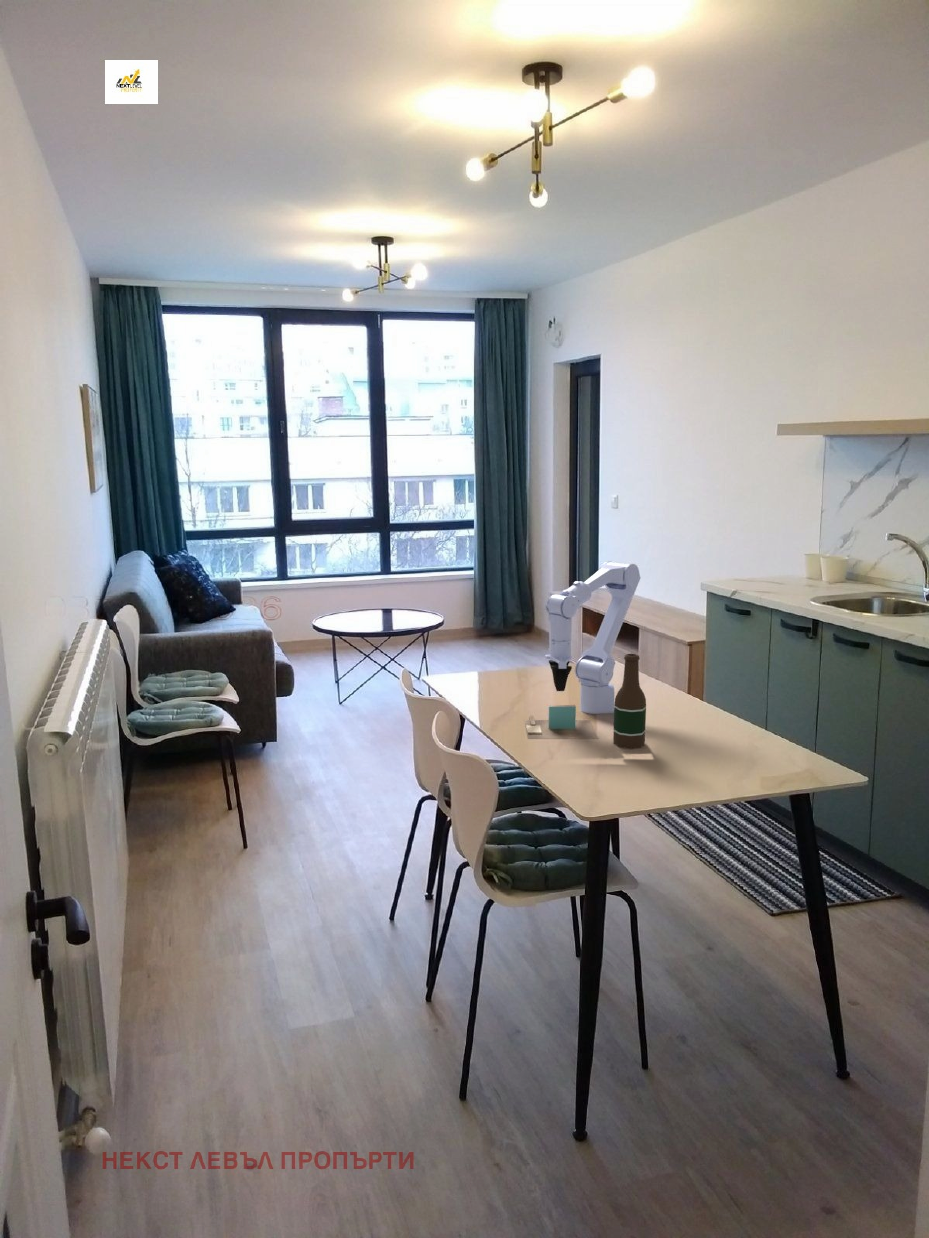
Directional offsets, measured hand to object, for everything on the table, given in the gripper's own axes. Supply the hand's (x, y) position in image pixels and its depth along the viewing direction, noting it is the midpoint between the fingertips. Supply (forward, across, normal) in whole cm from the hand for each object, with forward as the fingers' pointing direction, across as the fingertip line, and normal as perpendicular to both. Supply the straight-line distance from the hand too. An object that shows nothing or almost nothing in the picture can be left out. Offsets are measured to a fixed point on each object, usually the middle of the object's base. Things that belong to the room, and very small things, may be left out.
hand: (559, 688), depth 242 cm
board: (+10, +8, 0) cm, 13 cm away
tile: (+9, +8, 0) cm, 11 cm away
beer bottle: (+10, +20, +16) cm, 28 cm away
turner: (+9, +6, -7) cm, 13 cm away
